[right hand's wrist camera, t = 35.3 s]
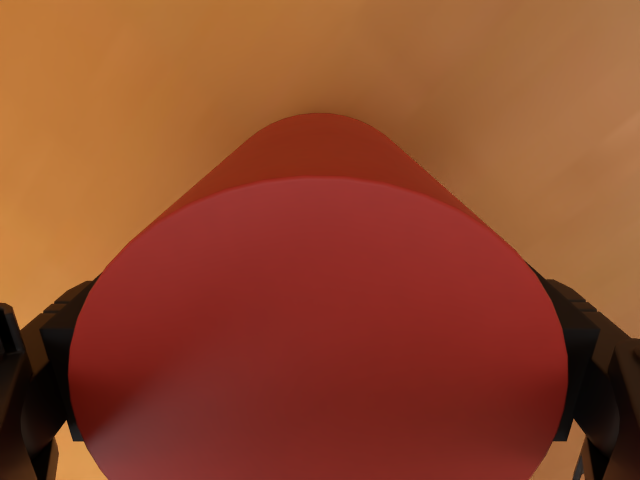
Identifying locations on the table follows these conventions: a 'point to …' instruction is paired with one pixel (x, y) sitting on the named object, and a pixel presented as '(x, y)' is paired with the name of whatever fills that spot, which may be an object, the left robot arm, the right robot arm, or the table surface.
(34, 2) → the table surface
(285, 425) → the canister
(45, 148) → the table surface
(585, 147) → the table surface
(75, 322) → the right robot arm
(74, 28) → the table surface
